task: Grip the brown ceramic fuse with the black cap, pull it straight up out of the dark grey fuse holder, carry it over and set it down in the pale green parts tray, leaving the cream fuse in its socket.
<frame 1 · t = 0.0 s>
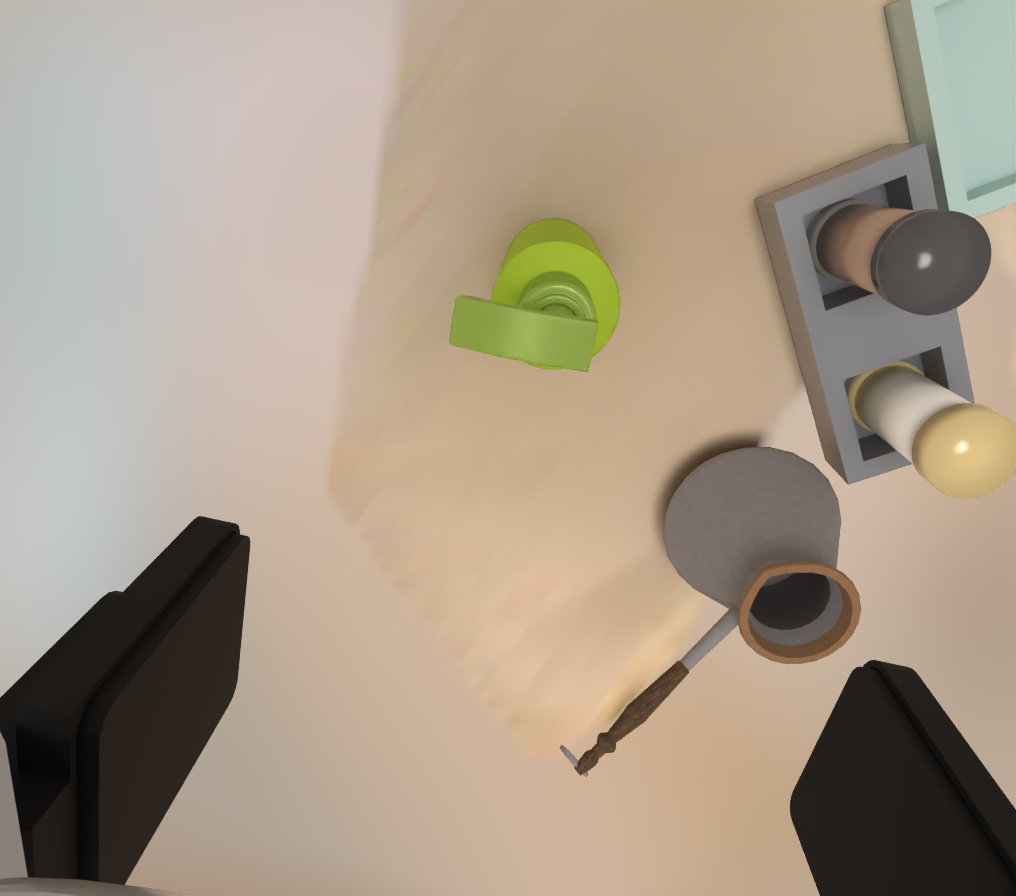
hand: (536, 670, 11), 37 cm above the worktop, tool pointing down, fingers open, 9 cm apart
soap dispenser: (544, 265, 45), on the worktop
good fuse: (879, 390, 46), point 1 cm above the worktop, touching fuse holder
blown fuse: (843, 239, 43), point 1 cm above the worktop, touching fuse holder
fuse holder: (855, 314, 45), on the worktop
coffee pot: (680, 545, 52), on the worktop
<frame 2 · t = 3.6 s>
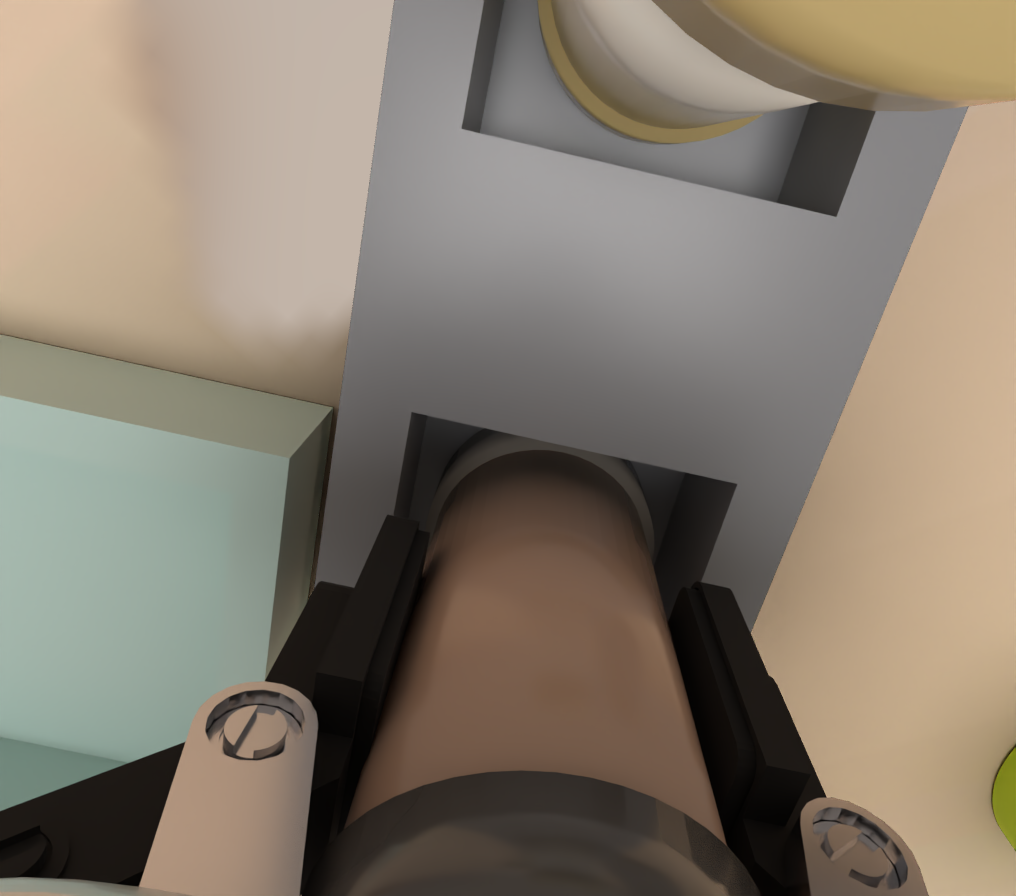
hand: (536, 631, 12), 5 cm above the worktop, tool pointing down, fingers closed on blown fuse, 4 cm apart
blown fuse: (539, 513, 16), point 1 cm above the worktop, touching fuse holder, gripper
parts tray: (70, 575, 18), on the worktop
fuse holder: (594, 281, 15), on the worktop
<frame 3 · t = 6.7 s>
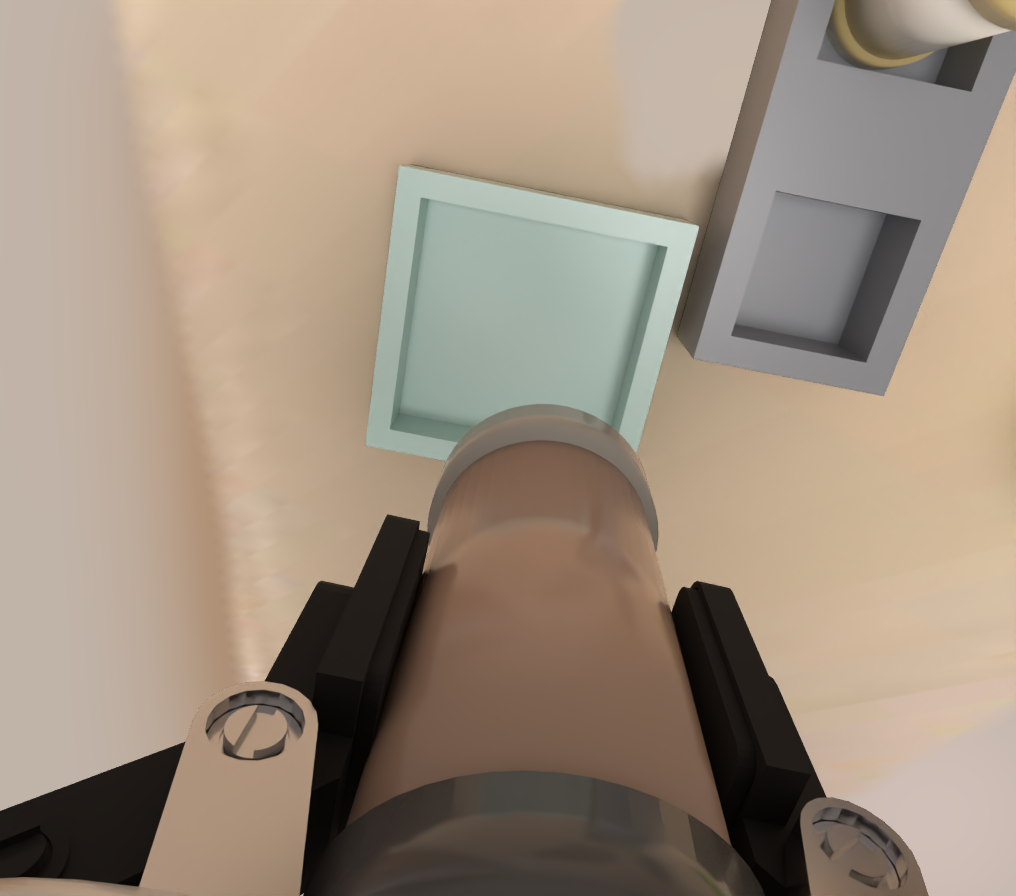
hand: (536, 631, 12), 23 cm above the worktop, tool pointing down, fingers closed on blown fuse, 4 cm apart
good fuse: (887, 1, 27), point 1 cm above the worktop, touching fuse holder
blown fuse: (542, 503, 16), point 19 cm above the worktop, touching gripper
parts tray: (522, 327, 33), on the worktop
fuse holder: (830, 144, 30), on the worktop
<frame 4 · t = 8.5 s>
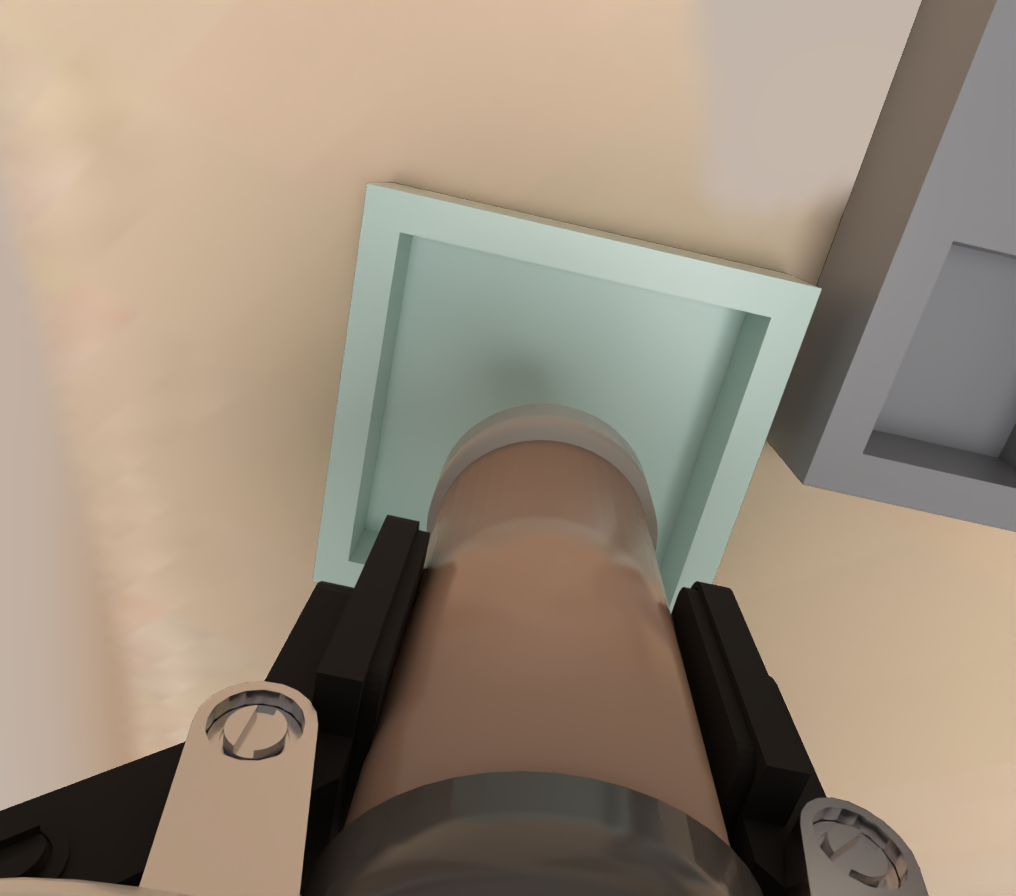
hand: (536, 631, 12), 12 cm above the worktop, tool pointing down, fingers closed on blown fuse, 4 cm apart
blown fuse: (541, 503, 16), point 8 cm above the worktop, touching gripper
parts tray: (543, 416, 24), on the worktop
fuse holder: (1008, 171, 20), on the worktop
when the fingers open (6 cm above the worktop, at t = 9.9 s): blown fuse stays where it is, resting on parts tray.
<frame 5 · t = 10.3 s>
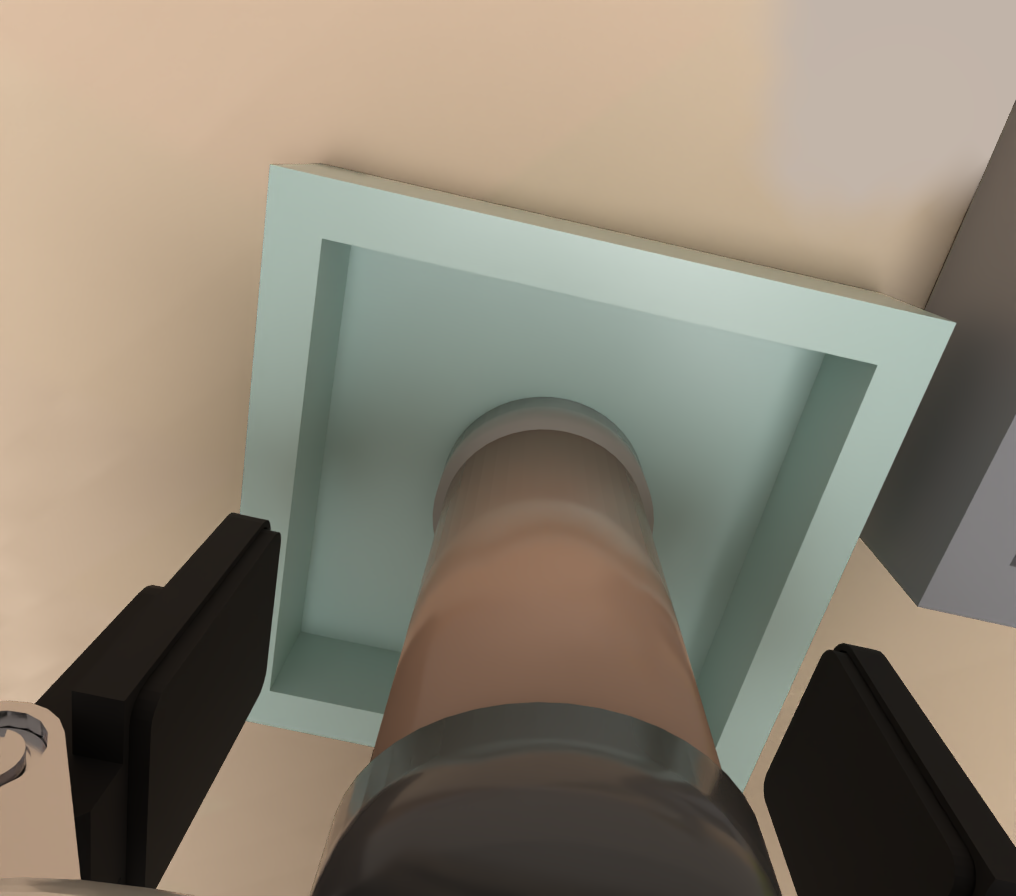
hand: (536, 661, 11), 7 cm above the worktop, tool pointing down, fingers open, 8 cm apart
blown fuse: (542, 493, 17), point 1 cm above the worktop, touching parts tray
parts tray: (539, 484, 17), on the worktop
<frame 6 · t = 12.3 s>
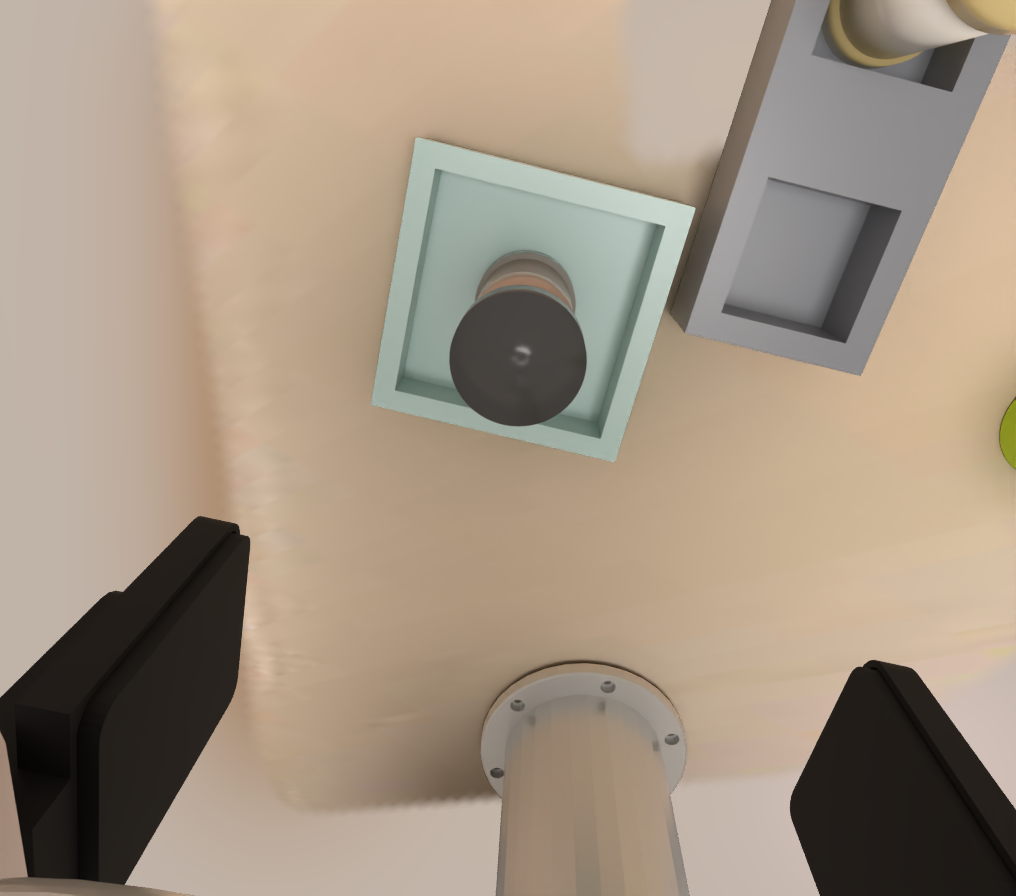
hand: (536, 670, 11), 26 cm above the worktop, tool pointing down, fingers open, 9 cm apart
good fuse: (879, 4, 29), point 1 cm above the worktop, touching fuse holder
blown fuse: (525, 299, 34), point 1 cm above the worktop, touching parts tray
parts tray: (524, 299, 35), on the worktop
fuse holder: (821, 137, 32), on the worktop
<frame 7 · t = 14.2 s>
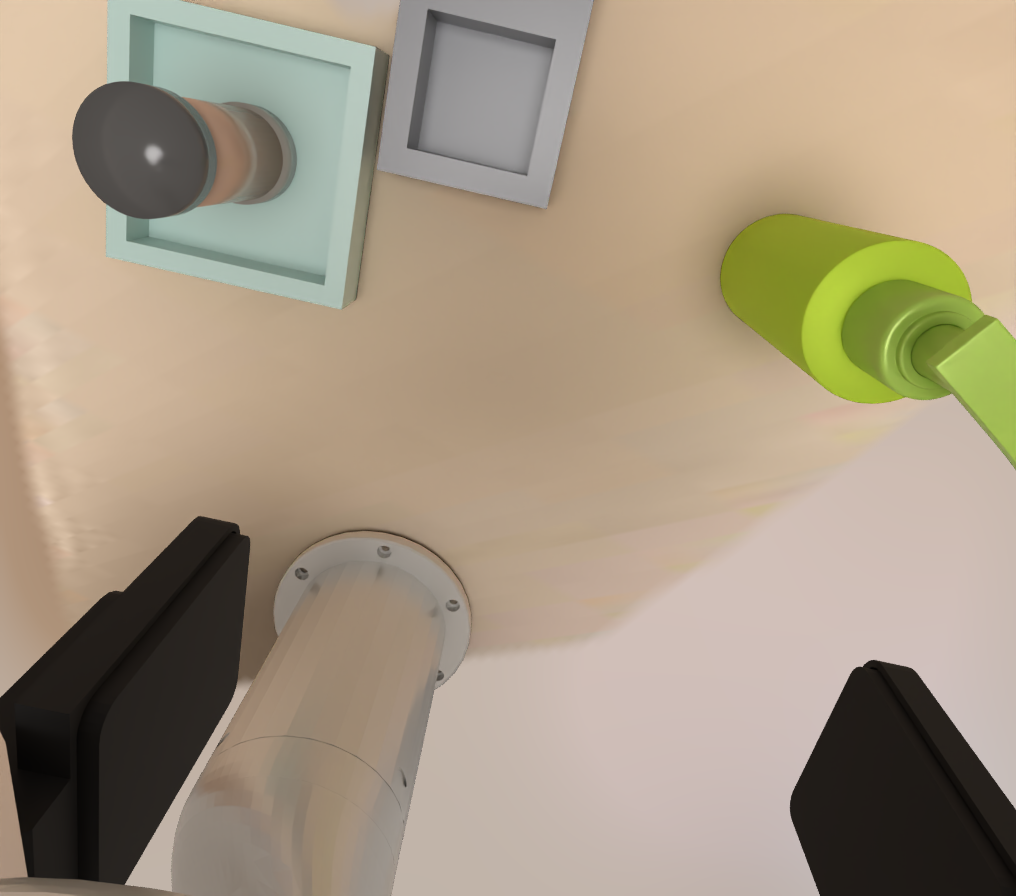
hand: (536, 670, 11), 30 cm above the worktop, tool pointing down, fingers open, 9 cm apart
soap dispenser: (782, 279, 38), on the worktop
blown fuse: (251, 154, 36), point 1 cm above the worktop, touching parts tray
parts tray: (256, 158, 37), on the worktop
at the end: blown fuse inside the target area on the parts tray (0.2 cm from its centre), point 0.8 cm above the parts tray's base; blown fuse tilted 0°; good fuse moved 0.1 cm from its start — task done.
